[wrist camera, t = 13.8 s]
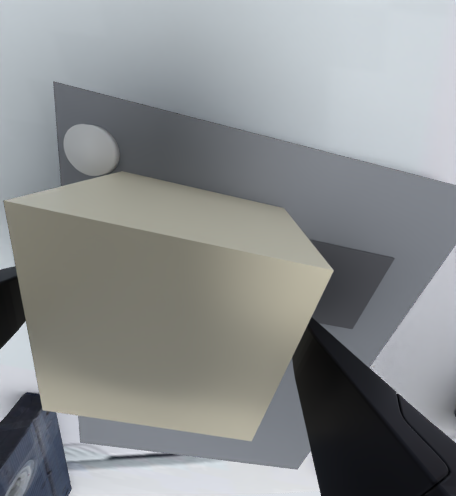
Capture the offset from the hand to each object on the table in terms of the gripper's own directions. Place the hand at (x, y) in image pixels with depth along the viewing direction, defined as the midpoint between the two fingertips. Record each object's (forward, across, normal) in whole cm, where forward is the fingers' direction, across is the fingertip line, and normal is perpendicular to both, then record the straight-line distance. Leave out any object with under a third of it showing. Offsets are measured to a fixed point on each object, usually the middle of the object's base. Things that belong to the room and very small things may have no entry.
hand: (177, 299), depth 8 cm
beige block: (+3, 0, 0) cm, 3 cm away
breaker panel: (+6, -3, +6) cm, 9 cm away
